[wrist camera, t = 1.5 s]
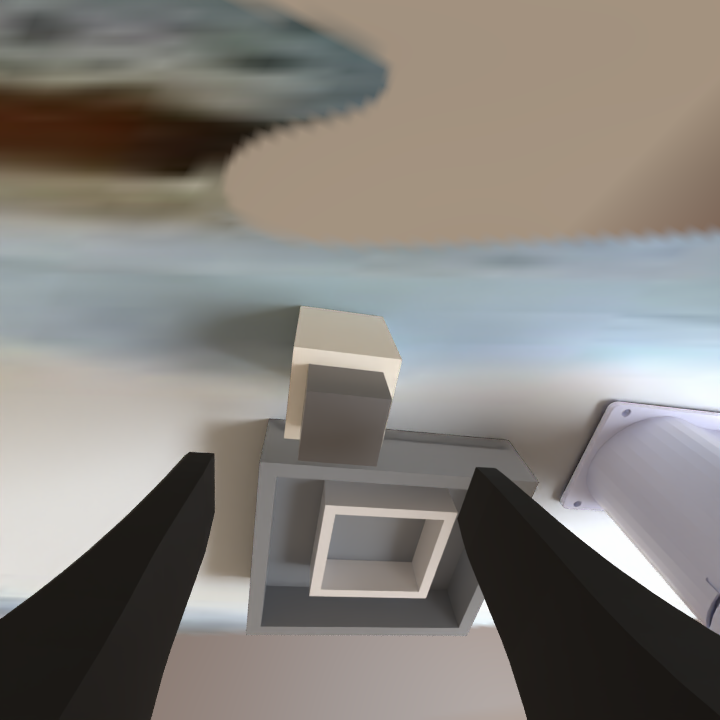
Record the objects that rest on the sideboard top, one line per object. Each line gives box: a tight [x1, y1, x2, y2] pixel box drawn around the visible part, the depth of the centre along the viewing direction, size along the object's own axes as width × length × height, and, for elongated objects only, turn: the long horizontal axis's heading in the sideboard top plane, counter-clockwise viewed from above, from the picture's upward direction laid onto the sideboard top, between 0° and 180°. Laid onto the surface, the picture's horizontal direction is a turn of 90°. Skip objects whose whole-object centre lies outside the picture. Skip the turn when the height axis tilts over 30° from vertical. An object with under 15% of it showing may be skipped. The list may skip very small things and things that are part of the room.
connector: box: [284, 306, 402, 467], centre depth 16 cm, size 4×4×7 cm
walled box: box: [246, 419, 539, 636], centre depth 23 cm, size 14×13×4 cm
